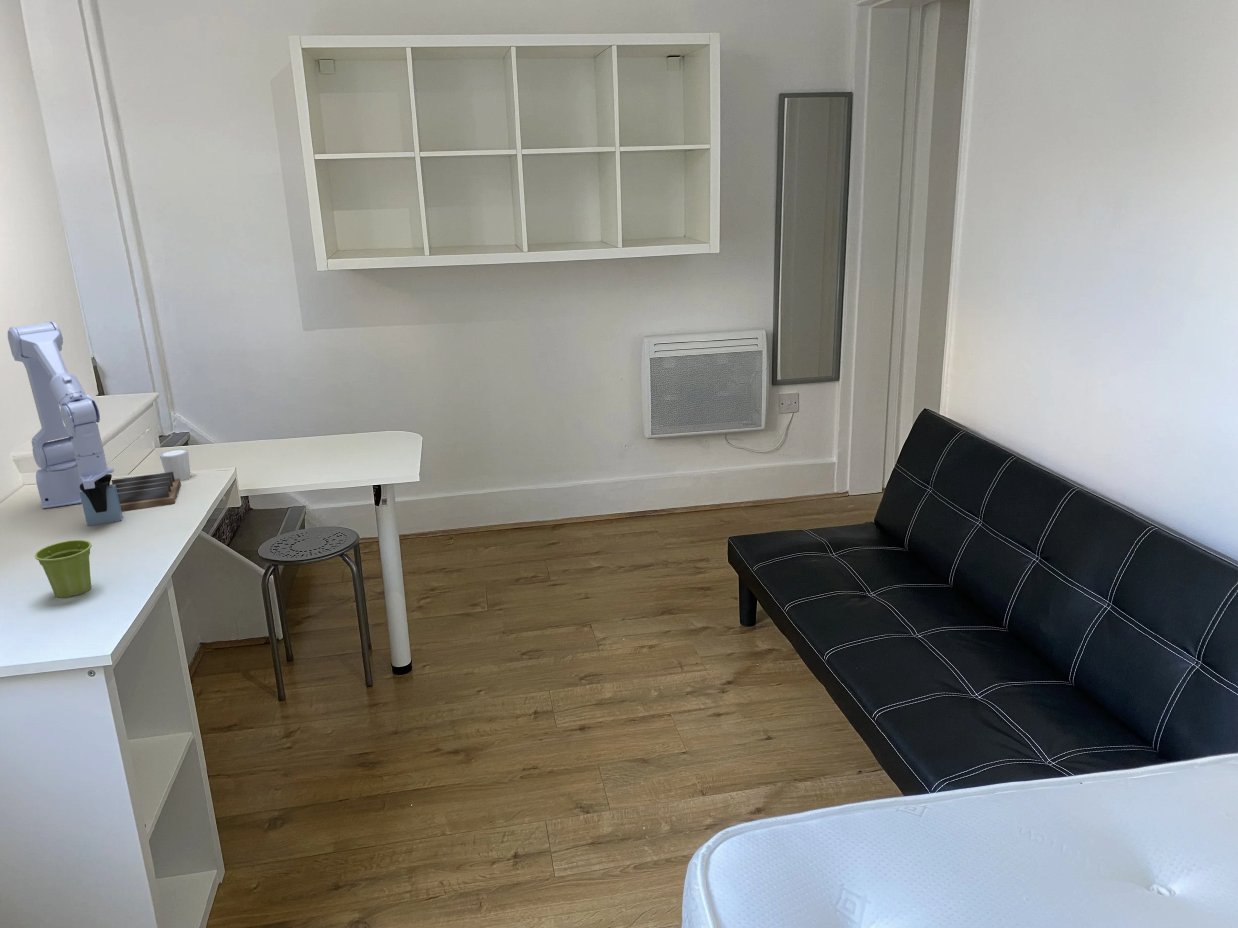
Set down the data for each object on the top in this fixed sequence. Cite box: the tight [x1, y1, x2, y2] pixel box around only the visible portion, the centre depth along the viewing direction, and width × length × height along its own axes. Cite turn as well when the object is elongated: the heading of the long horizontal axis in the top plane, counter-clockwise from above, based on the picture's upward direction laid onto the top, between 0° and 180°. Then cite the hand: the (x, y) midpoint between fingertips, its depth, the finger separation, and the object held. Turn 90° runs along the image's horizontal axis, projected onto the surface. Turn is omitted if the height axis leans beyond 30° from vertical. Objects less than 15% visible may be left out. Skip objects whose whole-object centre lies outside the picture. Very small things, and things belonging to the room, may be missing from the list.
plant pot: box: [34, 539, 93, 598], centre depth 177 cm, size 9×9×9 cm
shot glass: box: [159, 448, 192, 482], centre depth 243 cm, size 7×7×7 cm
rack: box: [110, 472, 182, 512], centre depth 229 cm, size 16×16×4 cm
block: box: [80, 484, 124, 527], centre depth 214 cm, size 7×2×8 cm, turn 109°
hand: (102, 509), depth 214 cm, fingers closed on block, 2 cm apart
